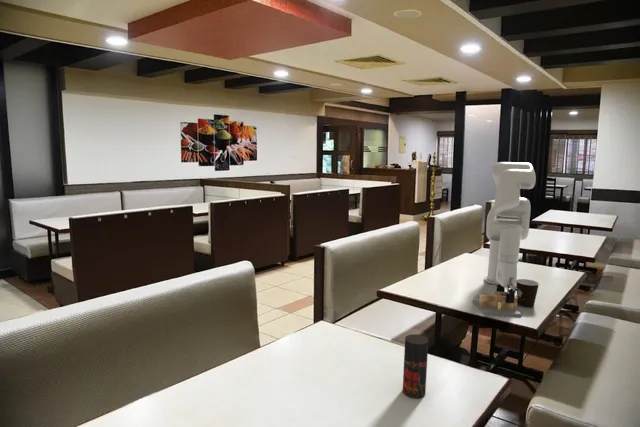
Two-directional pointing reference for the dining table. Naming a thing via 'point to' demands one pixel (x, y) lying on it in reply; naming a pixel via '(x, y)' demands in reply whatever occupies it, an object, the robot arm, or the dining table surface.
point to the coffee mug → (526, 292)
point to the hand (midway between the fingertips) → (504, 298)
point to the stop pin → (499, 307)
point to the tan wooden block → (497, 300)
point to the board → (493, 311)
